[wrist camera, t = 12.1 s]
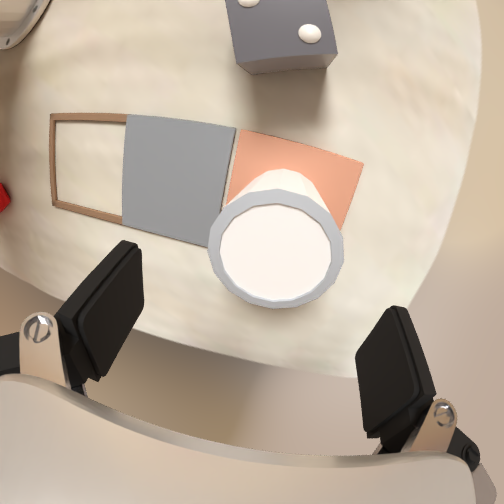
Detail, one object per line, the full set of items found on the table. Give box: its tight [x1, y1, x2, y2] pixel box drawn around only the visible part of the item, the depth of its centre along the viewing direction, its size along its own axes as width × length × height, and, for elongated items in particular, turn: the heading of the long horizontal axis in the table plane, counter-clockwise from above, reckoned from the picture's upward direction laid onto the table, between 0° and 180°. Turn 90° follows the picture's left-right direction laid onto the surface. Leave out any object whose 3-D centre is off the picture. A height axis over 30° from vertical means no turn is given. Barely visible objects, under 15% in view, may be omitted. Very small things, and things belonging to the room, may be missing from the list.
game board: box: [49, 113, 364, 247], centre depth 20 cm, size 10×27×1 cm, turn 78°
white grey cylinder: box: [207, 169, 344, 309], centre depth 16 cm, size 7×7×7 cm
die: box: [225, 0, 338, 75], centre depth 11 cm, size 5×5×5 cm
